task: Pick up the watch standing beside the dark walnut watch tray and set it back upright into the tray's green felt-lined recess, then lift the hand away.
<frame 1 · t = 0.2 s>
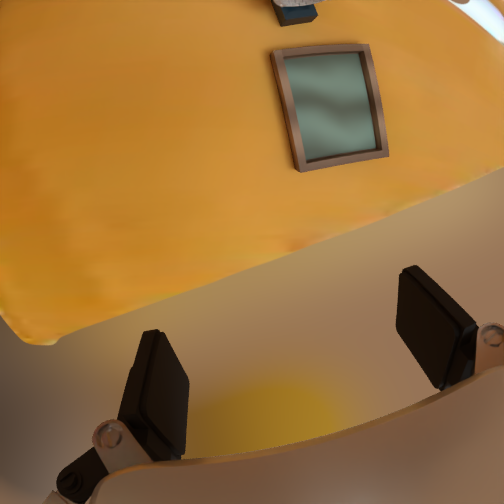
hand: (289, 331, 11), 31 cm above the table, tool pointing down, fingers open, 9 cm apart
watch: (290, 7, 29), on the table
watch tray: (329, 104, 35), on the table
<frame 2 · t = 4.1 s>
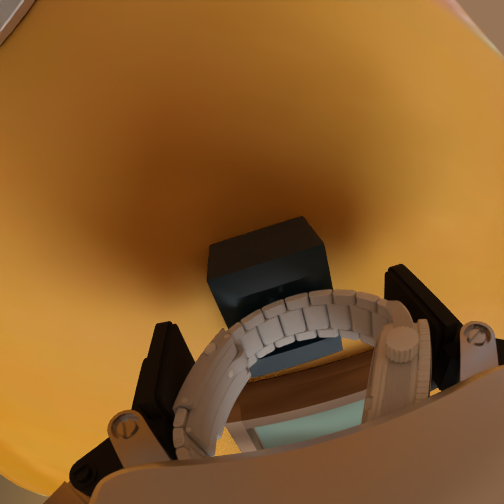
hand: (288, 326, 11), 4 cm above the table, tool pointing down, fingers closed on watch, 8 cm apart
watch: (273, 278, 15), on the table, touching gripper
watch tray: (328, 425, 21), on the table
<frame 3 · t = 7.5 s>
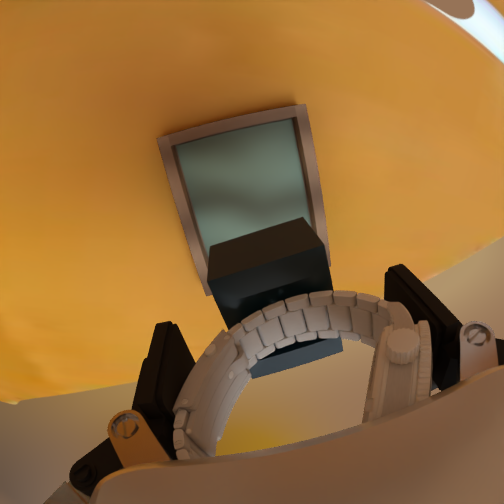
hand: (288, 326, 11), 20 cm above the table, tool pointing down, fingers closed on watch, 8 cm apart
watch: (273, 279, 15), point 16 cm above the table, touching gripper
watch tray: (249, 198, 29), on the table
when the fingers open (6 cm above the table, at t = 11.0 s): watch stays where it is, resting on watch tray.
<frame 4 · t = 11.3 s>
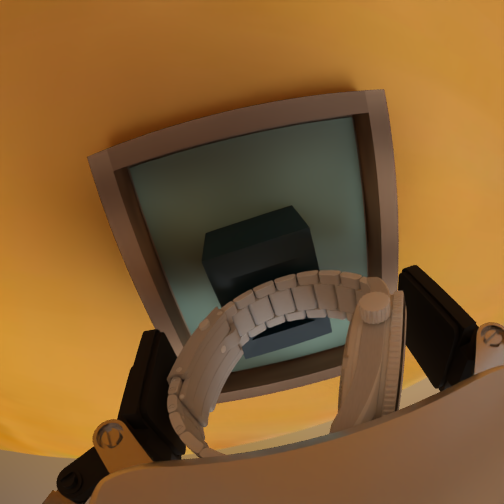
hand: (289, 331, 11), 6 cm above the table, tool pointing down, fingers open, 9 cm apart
watch: (265, 264, 15), point 1 cm above the table, touching watch tray
watch tray: (267, 258, 17), on the table
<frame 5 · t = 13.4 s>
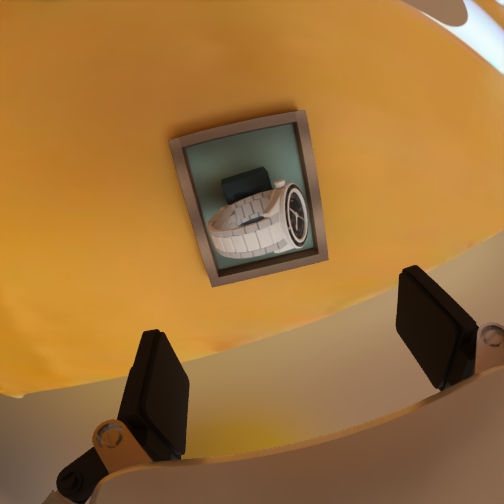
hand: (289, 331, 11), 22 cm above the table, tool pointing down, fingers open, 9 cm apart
watch: (251, 197, 30), point 1 cm above the table, touching watch tray
watch tray: (252, 196, 31), on the table
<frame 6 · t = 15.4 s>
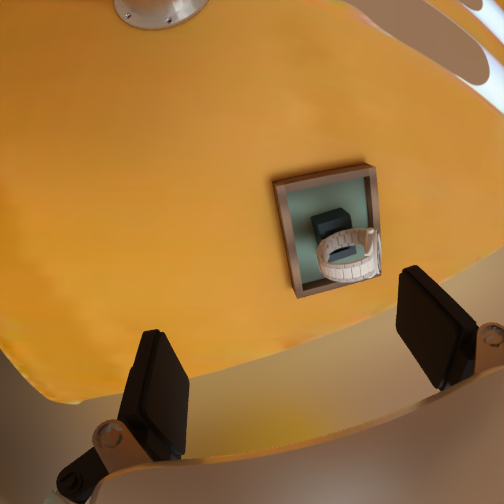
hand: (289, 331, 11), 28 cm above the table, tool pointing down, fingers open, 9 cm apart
watch: (330, 229, 39), point 1 cm above the table, touching watch tray
watch tray: (329, 228, 40), on the table
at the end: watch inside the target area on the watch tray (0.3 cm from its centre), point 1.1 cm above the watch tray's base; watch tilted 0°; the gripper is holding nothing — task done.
